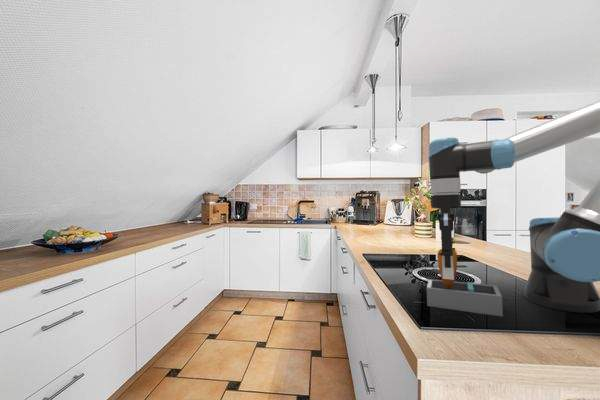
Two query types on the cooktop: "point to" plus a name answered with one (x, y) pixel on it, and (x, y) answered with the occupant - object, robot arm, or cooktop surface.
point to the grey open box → (465, 297)
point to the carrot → (449, 282)
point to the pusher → (470, 287)
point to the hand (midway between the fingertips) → (448, 275)
